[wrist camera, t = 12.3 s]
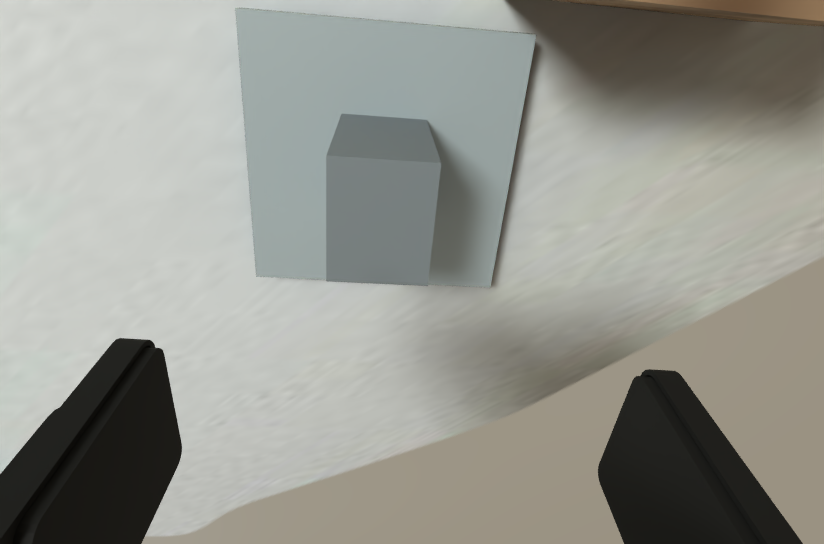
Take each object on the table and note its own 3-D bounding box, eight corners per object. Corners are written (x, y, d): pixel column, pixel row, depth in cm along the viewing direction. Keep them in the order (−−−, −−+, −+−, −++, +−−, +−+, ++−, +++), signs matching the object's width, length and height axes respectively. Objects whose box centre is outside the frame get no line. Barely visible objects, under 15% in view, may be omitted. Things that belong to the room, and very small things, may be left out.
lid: (526, 32, 24) (594, 49, 16) (484, 272, 30) (519, 368, 22) (245, 7, 23) (174, 13, 15) (263, 261, 29) (218, 358, 21)
